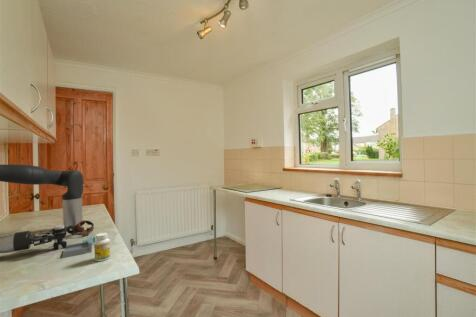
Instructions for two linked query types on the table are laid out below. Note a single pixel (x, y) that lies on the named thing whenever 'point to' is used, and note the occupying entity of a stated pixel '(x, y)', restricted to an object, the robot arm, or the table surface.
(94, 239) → the clip
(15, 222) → the table surface
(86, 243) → the tray
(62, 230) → the push button
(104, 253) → the supplement bottle
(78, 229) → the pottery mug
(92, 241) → the clip
